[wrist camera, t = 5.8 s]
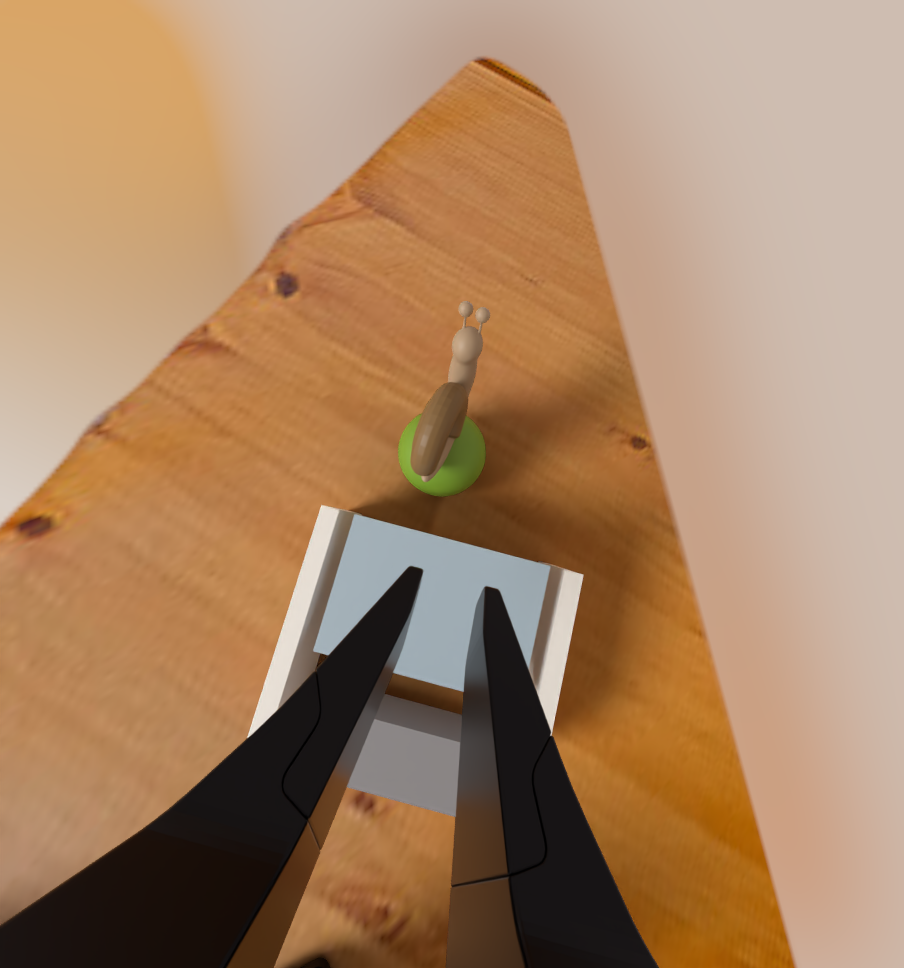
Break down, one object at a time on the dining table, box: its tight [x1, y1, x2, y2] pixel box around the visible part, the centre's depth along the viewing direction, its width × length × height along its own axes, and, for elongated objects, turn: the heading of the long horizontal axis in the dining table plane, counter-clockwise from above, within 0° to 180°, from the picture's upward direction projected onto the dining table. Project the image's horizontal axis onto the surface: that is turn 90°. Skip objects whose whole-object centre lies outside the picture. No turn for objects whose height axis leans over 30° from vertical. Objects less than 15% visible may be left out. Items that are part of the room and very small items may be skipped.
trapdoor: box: [313, 514, 551, 817], centre depth 17 cm, size 11×12×2 cm
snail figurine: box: [398, 301, 490, 496], centre depth 17 cm, size 5×6×12 cm
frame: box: [247, 505, 583, 738], centre depth 19 cm, size 14×12×5 cm
